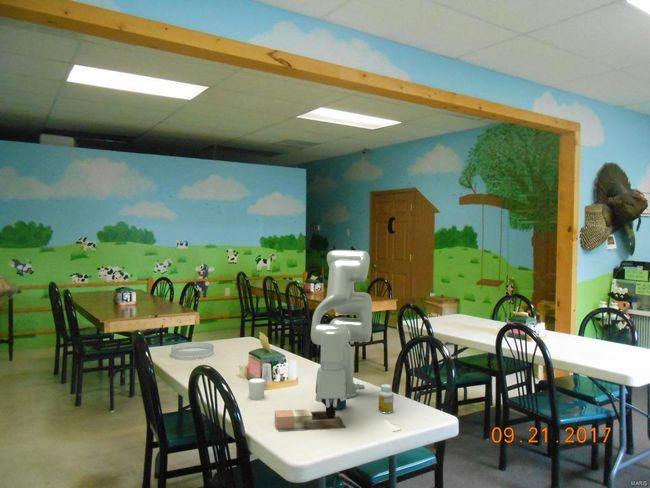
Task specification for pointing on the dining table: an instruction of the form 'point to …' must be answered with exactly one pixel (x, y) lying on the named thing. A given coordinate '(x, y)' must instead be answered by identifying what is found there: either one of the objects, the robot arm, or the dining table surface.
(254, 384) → the shot glass
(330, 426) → the chute
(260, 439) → the dining table surface
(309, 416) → the beech block
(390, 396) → the supplement bottle
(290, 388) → the dining table surface
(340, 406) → the soda can
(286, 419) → the terracotta block
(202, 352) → the dish
